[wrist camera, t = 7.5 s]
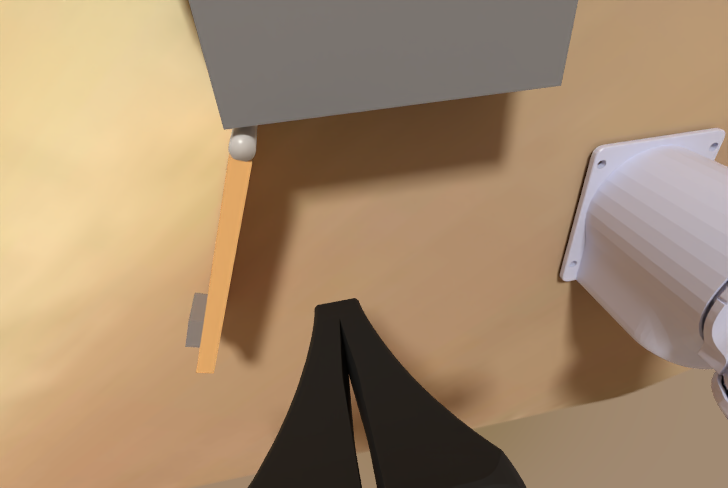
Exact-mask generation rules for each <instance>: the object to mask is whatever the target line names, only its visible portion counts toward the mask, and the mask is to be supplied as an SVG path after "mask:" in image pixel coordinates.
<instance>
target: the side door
mask: <svg viewBox="0 0 728 488" xmlns="http://www.w3.org/2000/svg"><path fill="white" fill-rule="evenodd" d="M257 127H258V125H255V126H248V127H240V128H233V129H232V134H231V138H230V143H229V158H228V165H227V172H226V178H225V185H224V191H223V198H222V205H221V211H220V218H219V224H218V231H217V238H216V244H215V251H214V258H213V264H212V271H211V277H210V284H209V291H208V294H201V293H195V295H194V299H193V304H192V308H191V313H190V317H189V322H188V330H187V338H186V346H185V347H199V348H200V350H199V357H198V363H197V370H196V373H214V369H215V363H216V358H217V352H218V347H219V341H220V336H221V331H222V325H223V320H224V314H225V309H226V303H227V298H228V292H229V287H230V281H231V276H232V271H233V265H234V260H235V254H236V249H237V243H238V238H239V232H240V227H241V221H242V216H243V211H244V205H245V200H246V194H247V189H248V183H249V178H250V172H251V167H252V160H253V157H254V156H255V153H256V141H257Z"/></svg>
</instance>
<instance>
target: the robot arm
mask: <svg viewBox="0 0 728 488" xmlns="http://www.w3.org/2000/svg"><path fill="white" fill-rule="evenodd" d="M724 137H725V131H724V130H722V129H719V128H712V129H705V130H699V131H692V132H685V133H679V134H672V135H665V136H659V137H652V138H645V139H639V140H632V141H625V142H619V143H612V144H606V145H601V146H598V147H597V148H596V149H595V150H594V151H593V153H592V155H591V159H590V163H589V166H588V170H587V174H586V178H585V181H584V185H583V189H582V193H581V196H580V200H579V204H578V208H577V211H576V215H575V219H574V223H573V226H572V230H571V234H570V238H569V241H568V245H567V249H566V253H565V257H564V260H563V264H562V268H561V272H560V277H561V279H562V280H563V281H572V280H577V281H578V282H579V283H580V284H581V285H582V286H583V287H584V288H585V289H586V290H587V291H588V292H589V293H590V295H591V296H592V297H593V298H594V299H595V300H596V301H597V302H598V303H599V304H600V305H601V306H602V307H603V308H604V309H605V310H606V311H607V312H608V313H609V314H610V315H611V316H612V317H613V318H614V319H615V320H616V321H617V322H618V324H619V325H620V326H621V327H622V328H623V329H624V330H625V331H626V332H627V333H628V334H629V335H630V336H631V337H632V338H633V339H634V340H635V341H636V342H638V343H639V344H640V345H641V346H643V347H644V348H645V349H647V350H648V351H650V352H652V353H653V354H655V355H657V356H659V357H661V358H663V359H665V360H667V361H670V362H672V363H675V364H678V365H681V366H685V367H690V368H697V369H714V370H715V371H716V372H715V373H714V375H713V378H712V382H711V383H712V384H711V388H712V392H713V395H714V398H715V400H716V402H717V404H718V406H719V408H720V409H721V411H722V412H723V414H724V415H725V417H726V418H727V419H728V167H727V166H725V165H722V164H720V163H718V162H716V161H714V159H715V157H716V155H717V153H718V151H719V148H720V146H721V144H722V142H723V140H724ZM600 161H601V163H600V164H599V165H598V163H599V162H600ZM349 377H350V380H351V384H352V387H353V391H354V394H355V398H356V401H357V405H358V408H359V412H360V415H361V419H362V422H363V426H364V429H365V433H366V436H367V440H368V445H369V449H370V453H371V458H372V464H373V469H374V474H375V479H376V484H377V488H526V486H525V484H524V482H523V480H522V479H521V477H520V475H519V474H518V472H517V471H516V469H515V468H514V466H513V465H512V463H511V462H510V460H509V459H508V458H507V456H506V455H505V454H504V452H503V451H502V450H501V449H499V448H498V447H496V446H495V445H493V444H492V443H490V442H489V441H488V440H486V439H484V438H483V437H482V436H481V435H479V434H478V433H476V432H475V431H474V430H472V429H471V428H470V427H468V426H467V425H466V424H465V423H463V422H462V421H461V420H459V419H458V418H457V417H456V416H454V415H453V414H452V413H451V412H450V411H449V410H447V409H446V408H445V407H444V406H443V405H442V404H440V403H439V402H438V401H437V400H436V399H435V398H433V397H432V396H431V395H430V394H429V393H428V392H427V391H426V390H425V389H424V388H423V387H422V386H421V385H420V384H419V383H418V382H417V381H416V380H415V379H414V378H413V377H412V376H411V375H410V374H409V373H408V371H407V370H406V369H405V368H404V367H403V366H402V365H401V364H400V362H399V361H398V360H397V359H396V358H395V356H394V355H393V354H392V353H391V351H390V350H389V349H388V348H387V346H386V345H385V344H384V342H383V341H382V339H381V338H380V337H379V335H378V334H377V333H376V331H375V330H374V328H373V327H372V325H371V323H370V322H369V320H368V319H367V317H366V315H365V313H364V311H363V310H362V308H361V305H360V303H359V301H358V300H357V299H355V298H353V299H348V300H342V301H337V302H332V303H327V304H321V305H317V306H316V307H315V317H314V326H313V332H312V337H311V342H310V346H309V350H308V355H307V359H306V362H305V365H304V369H303V372H302V375H301V378H300V381H299V384H298V387H297V390H296V393H295V395H294V398H293V401H292V403H291V406H290V408H289V410H288V413H287V415H286V417H285V419H284V422H283V424H282V426H281V428H280V430H279V433H278V435H277V437H276V439H275V441H274V443H273V445H272V447H271V448H270V450H269V452H268V454H267V456H266V457H265V459H264V461H263V463H262V465H261V467H260V468H259V470H258V472H257V474H256V475H255V477H254V479H253V481H252V482H251V484H250V485H249V487H248V488H362V485H361V479H360V474H359V468H358V462H357V456H356V449H355V441H354V431H353V419H352V407H351V396H350V384H349Z"/></svg>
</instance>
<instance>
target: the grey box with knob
mask: <svg viewBox="0 0 728 488" xmlns="http://www.w3.org/2000/svg"><path fill="white" fill-rule="evenodd" d="M577 3H578V0H189V4H190V8H191V11H192V15H193V19H194V22H195V26H196V29H197V33H198V37H199V40H200V44H201V48H202V51H203V55H204V59H205V62H206V66H207V70H208V73H209V77H210V81H211V84H212V88H213V91H214V95H215V99H216V102H217V106H218V110H219V113H220V117H221V121H222V124H223V128H224V130H225V129H232V128H240V127H248V126H255V125H263V124H271V123H278V122H286V121H294V120H301V119H309V118H316V117H324V116H332V115H339V114H347V113H355V112H362V111H370V110H378V109H385V108H393V107H401V106H408V105H416V104H424V103H431V102H439V101H447V100H454V99H462V98H470V97H477V96H485V95H492V94H500V93H508V92H515V91H523V90H531V89H538V88H546V87H554V86H561V83H562V78H563V73H564V68H565V63H566V58H567V53H568V48H569V43H570V38H571V33H572V28H573V23H574V18H575V13H576V8H577Z"/></svg>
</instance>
